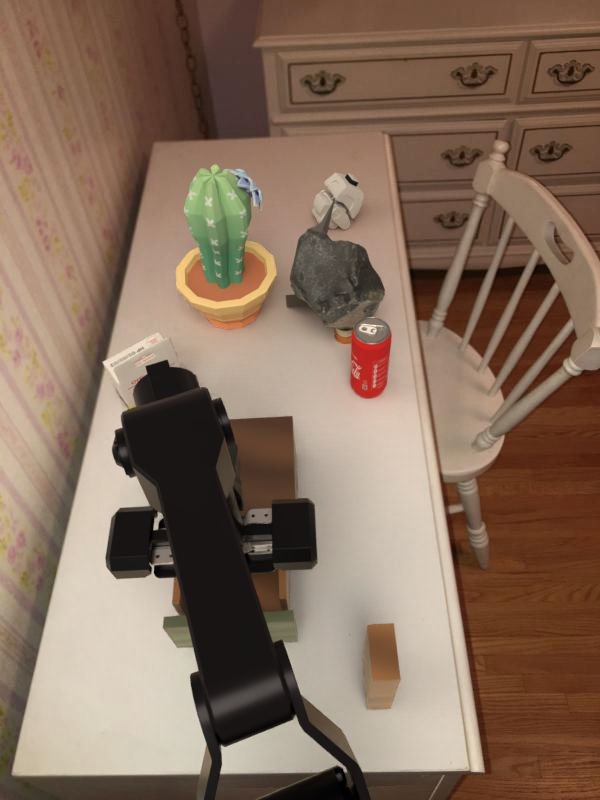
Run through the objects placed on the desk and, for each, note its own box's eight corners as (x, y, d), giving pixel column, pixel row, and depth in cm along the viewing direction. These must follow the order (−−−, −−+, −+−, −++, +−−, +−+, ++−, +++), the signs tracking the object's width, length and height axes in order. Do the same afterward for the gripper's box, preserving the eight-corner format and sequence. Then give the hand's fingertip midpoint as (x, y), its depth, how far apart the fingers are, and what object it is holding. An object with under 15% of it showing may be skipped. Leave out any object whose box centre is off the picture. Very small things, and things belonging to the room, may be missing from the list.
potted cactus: (273, 348, 98) (256, 213, 77) (174, 342, 99) (133, 208, 79) (287, 277, 107) (275, 139, 86) (196, 272, 108) (163, 136, 88)
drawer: (298, 689, 68) (295, 672, 62) (173, 695, 69) (158, 679, 63) (293, 529, 79) (290, 501, 73) (185, 534, 79) (173, 508, 73)
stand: (390, 708, 68) (400, 679, 57) (366, 710, 68) (372, 681, 57) (385, 659, 71) (393, 622, 60) (362, 660, 71) (367, 624, 60)
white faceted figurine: (340, 240, 114) (375, 194, 109) (313, 229, 110) (348, 180, 105) (326, 220, 117) (360, 175, 112) (300, 209, 113) (333, 160, 108)
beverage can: (381, 404, 91) (386, 349, 81) (345, 395, 92) (346, 340, 82) (390, 376, 93) (396, 319, 84) (355, 368, 95) (357, 311, 85)
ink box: (176, 383, 95) (153, 313, 83) (193, 404, 92) (172, 336, 80) (125, 413, 92) (93, 345, 80) (141, 436, 89) (112, 369, 77)
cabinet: (300, 557, 78) (296, 525, 71) (180, 563, 78) (163, 532, 71) (296, 454, 87) (292, 415, 79) (188, 459, 87) (174, 422, 79)
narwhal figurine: (292, 368, 95) (284, 279, 81) (285, 295, 104) (277, 202, 90) (388, 359, 95) (397, 268, 81) (373, 287, 104) (379, 193, 90)
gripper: (309, 413, 57) (314, 495, 70) (101, 425, 58) (143, 504, 70) (315, 529, 51) (319, 597, 63) (80, 541, 51) (131, 606, 64)
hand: (226, 571), depth 65 cm, fingers closed on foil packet, 4 cm apart
